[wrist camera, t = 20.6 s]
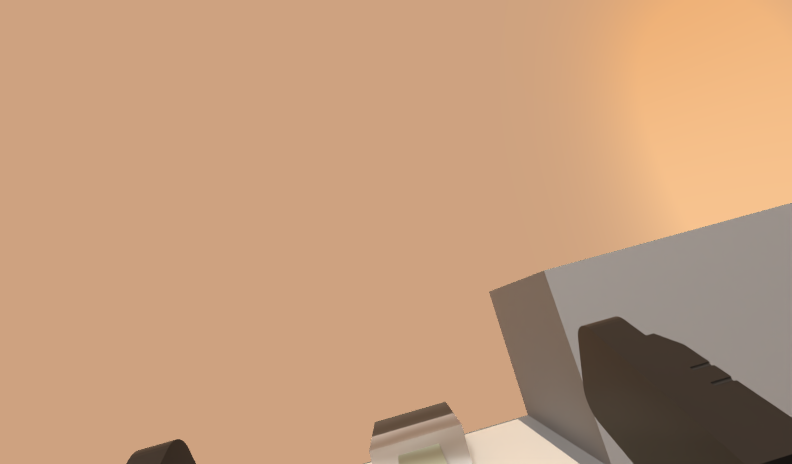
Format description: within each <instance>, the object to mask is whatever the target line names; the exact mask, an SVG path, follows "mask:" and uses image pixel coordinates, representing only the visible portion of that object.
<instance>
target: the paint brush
mask: <svg viewBox="0 0 792 464" xmlns="http://www.w3.org/2000/svg"><path fill="white" fill-rule="evenodd" d="M369 452H370V456H371V461H372V464H472V460H471V456H470V453H469V449H468V446H467V442H466V439H465V435H464V432H463V428H462V425H461V423H460V421H459V420H458V419H457V417H456V416H455V414H454V413H453V412H452V410H451V409H450V407H449V406H448V405H447V403H446V402H443V403H440V404H437V405H433V406H429V407H426V408H423V409H419V410H416V411H412V412H409V413H405V414H402V415H399V416H395V417H392V418H388V419H385V420H381V421H378V422H375V425H374V430H373V435H372V440H371V446H370V450H369Z"/></svg>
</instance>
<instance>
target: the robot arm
mask: <svg viewBox="0 0 792 464" xmlns="http://www.w3.org/2000/svg"><path fill="white" fill-rule="evenodd" d="M578 343H579V352H580V361H581V370H582V379H583V388H584V393H585V397H586V400H587V402H588V405H589V407H590V409H591V411H592V413H593V415H594V416H595V418H596V419H597V421H598V422H599V423H600V424H601V426H602V427H603V428H604V429H605V430H606V432H607V433H608V434H609V435H610V436H611V437H612V439H613V440H614V441H615V442H616V443H617V445H618V446H619V447H620V448H621V449H622V451H623V452H624V453H625V454H626V455H627V457H628V458H629V459H630V460H631V461H632V463H633V464H792V417H790V416H789V415H788V414H786V413H785V412H783V411H782V410H780V409H779V408H777V407H776V406H774V405H773V404H771V403H770V402H768V401H767V400H765V399H764V398H762V397H761V396H759V395H758V394H757V393H755V392H754V391H752V390H751V389H749V388H748V387H746V386H745V385H743V384H742V383H740V382H739V381H737V380H735V381H733V380H732V378H731V376H730V375H729V374H727V373H726V372H724V371H723V370H721V369H720V368H718V367H717V366H715V365H711V364H710V363H709V361H708V360H706V359H705V358H703V357H702V356H700V355H699V354H698V353H696V352H695V351H693V350H692V349H690V348H689V347H687V346H686V345H684V344H682V343H679V342H676V341H673V340H671V339H668V338H665V337H662V336H660V335H657V334H654V333H653V334H649V335H645V334H643V333H642V332H641V331H639V330H638V329H637V328H635V327H634V326H632V325H631V324H630V323H628V322H627V321H626V320H624V319H623V318H621V317H618V316H615V317H611V318H608V319H604V320H601V321H597V322H594V323H590V324H587V325H583V326H581V327H580V328H579V330H578ZM127 464H196V463H195V461H194V459H193V457H192V455H191V453H190V451H189V449H188V447H187V445H186V444H185V443H184V442H183V441H182V440H180V439H177V440H173V441H170V442H167V443H163V444H159V445H156V446H153V447H149V448H145V449H142V450H138V451H136V452H135V453H134V454H133V455H132V456H131V457H130V459H129V460H128V462H127Z"/></svg>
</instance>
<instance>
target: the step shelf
mask: <svg viewBox="0 0 792 464" xmlns="http://www.w3.org/2000/svg"><path fill="white" fill-rule="evenodd" d="M489 293H490V296H491V299H492V302H493V305H494V308H495V312H496V315H497V318H498V321H499V324H500V328H501V331H502V334H503V337H504V340H505V344H506V347H507V350H508V353H509V356H510V359H511V363H512V366H513V369H514V372H515V375H516V378H517V381H518V384H519V388H520V391H521V394H522V397H523V400H524V404H525V407H526V410H527V413H528V415H527V416H523V417H520V418H517V419H513V420H510V421H506V422H503V423H500V424H496V425H493V426H490V427H486V428H483V429H480V430H476V431H473V432H469V433H466V434H464V435H465V439H466V442H467V446H468V449H469V453H470V456H471V460H472V464H633V463H632V461H631V460H630V459H629V458H628V457H627V455H626V454H625V453H624V452H623V451H622V449H621V448H620V447H619V446H618V445H617V443H616V442H615V441H614V440H613V439H612V437H611V436H610V435H609V434H608V433H607V432H606V430H605V429H604V428H603V427H602V426H601V424H600V423H599V422H598V421H597V419H596V418H595V416H594V415H593V413H592V411H591V409H590V407H589V405H588V402H587V400H586V397H585V393H584V388H583V379H582V370H581V361H580V352H579V343H578V330H579V328H580V327H581V326H583V325H587V324H590V323H594V322H597V321H601V320H604V319H608V318H611V317H615V316H618V317H621V318H623V319H624V320H626V321H627V322H628V323H630V324H631V325H632V326H634V327H635V328H637V329H638V330H639V331H641V332H642V333H643V334H645V335H649V334H653V333H654V334H657V335H660V336H662V337H665V338H668V339H671V340H673V341H676V342H679V343H682V344H684V345H686V346H687V347H689V348H690V349H692V350H693V351H695V352H696V353H698V354H699V355H700V356H702V357H703V358H705V359H706V360H708V361H709V363H710V364H711V365H715V366H717V367H718V368H720V369H721V370H723V371H724V372H726V373H727V374H729V375H730V376H731V378H732V380H733V381H735V380H737V381H739V382H740V383H742V384H743V385H745V386H746V387H748V388H749V389H751V390H752V391H754V392H755V393H757V394H758V395H759V396H761V397H762V398H764V399H765V400H767V401H768V402H770V403H771V404H773V405H774V406H776V407H777V408H779V409H780V410H782V411H783V412H785V413H786V414H788V415H789V416H790V417H792V203H790V204H786V205H782V206H779V207H775V208H772V209H768V210H764V211H761V212H757V213H753V214H750V215H746V216H742V217H739V218H735V219H731V220H728V221H724V222H720V223H717V224H713V225H709V226H706V227H702V228H699V229H695V230H691V231H687V232H684V233H680V234H676V235H673V236H669V237H665V238H662V239H658V240H654V241H651V242H647V243H644V244H640V245H636V246H633V247H629V248H625V249H622V250H618V251H614V252H611V253H607V254H603V255H600V256H596V257H592V258H589V259H585V260H582V261H578V262H574V263H570V264H567V265H563V266H559V267H556V268H552V269H549V270H545V271H542V272H540V273H537V274H534V275H532V276H529V277H527V278H524V279H521V280H519V281H516V282H513V283H511V284H508V285H506V286H503V287H501V288H498V289H495V290H493V291H490V292H489ZM364 464H372V461H371V462H368V463H364Z"/></svg>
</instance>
